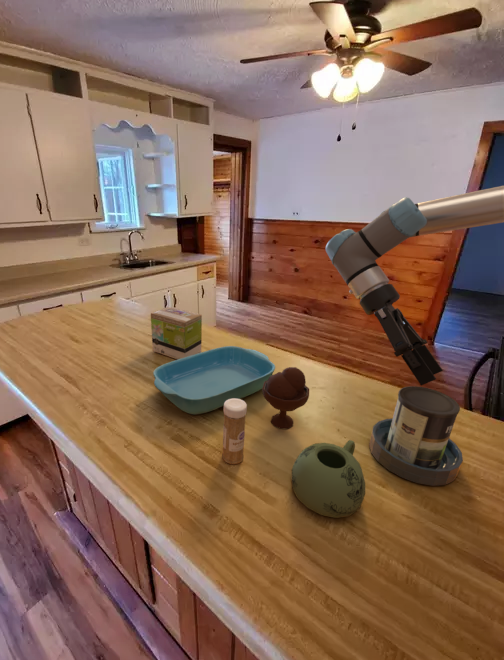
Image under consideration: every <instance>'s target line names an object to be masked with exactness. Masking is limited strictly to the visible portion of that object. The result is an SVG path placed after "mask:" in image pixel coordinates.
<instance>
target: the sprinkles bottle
mask: <svg viewBox="0 0 504 660" xmlns="http://www.w3.org/2000/svg"><path fill="white" fill-rule="evenodd" d="M247 408H248V404H247V402H246V401H245V400H243V399H242V398H241V399H236V398H233V399H228V400H227V401H225V403H224V406H223V427H222V428H223V429H222V430H223V431H222V449H223V450H222V456H221V457H222V460H223V461H224V462H225V463H227V464H230V465H238V464H240V463H241V462H243V460H244V447H245V433H246V432H245V431H246V430H245V429H246V416H247V412H248V409H247Z"/></svg>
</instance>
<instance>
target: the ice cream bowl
mask: <svg viewBox="0 0 504 660" xmlns="http://www.w3.org/2000/svg"><path fill="white" fill-rule="evenodd" d="M306 382H307V381H306V376H305V373H304V372H303V371H302V370H301V369H300V368H298V367H296V366H294V367H293V366H289V367H285V368H284V369H283V370H282V371H277V372H276V373H273V374H272V375H271V376H270V377H269V379H268V380H267V381H265V382H264V384H263V388H262V389H261V390H262V395H263V398H264V399H265V401H267V402H268V403H269V405H270V406H271V407H272V408H273V409H276V410H279V413H276V414H274V415H272V416H271V419H270V423H271V424H272V425H273V426H274V427H275V428H278V429H283V430H285V429H286V430H288V429H290V428H292V427H293V426H294V419H293V418H292V417H291V416H290V415H287V414H288V413H287V412H293V411H295V410H298V409H299V408H301V407H303V406H305V405H306V403H307V402H308V401H309V397H310V387H308V386H307V385H306Z"/></svg>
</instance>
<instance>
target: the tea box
mask: <svg viewBox="0 0 504 660" xmlns="http://www.w3.org/2000/svg"><path fill="white" fill-rule="evenodd" d="M202 317H203V315H202V314H201V313H197V312H193V311H189V310H185V309H180V308H177V307H173V306H167V307H164V308H161V309H159V310H157V311H153V312H151V313H150V326H151V327H150V328H151V345H152V351H153V353H157V354H161V355H163V356H166V357H169V358H172V359H175V360H178V359H181V358H185V357H188V356H191V355H195V354H198V353H201V352H202V342H203V341H202V335H203V334H202V333H203V332H202V330H203V329H202V328H203V327H202V325H203V323H202V322H203V321H202V320H203V318H202Z"/></svg>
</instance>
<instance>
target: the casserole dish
mask: <svg viewBox="0 0 504 660" xmlns="http://www.w3.org/2000/svg"><path fill="white" fill-rule="evenodd" d="M275 370H276V365H275V363H273V362H272V361H271V360H270V359H269V356H268V355H266V354H265V353H263V352H260V351H258V350H256V349H251V348H245V347H241V346H237V345H236V346H234V345H226V346H221V347H216V348H211V349H209V350H205V351H201V353H198V354H195V355H191V356H188V357H185V358H181V359H178V360H177V359H175V360H172V361H169V362H166V363H163V364H161V365H159V366H157V367H156V368H155V369H154V370H153V373H152V374H153V378H154V380H153V381H154V382H153V385H154V387H155V388H156V389H157V390H158V391H159V392H160V393H161V394H162V395H163V396H164V397H165V398H166V399H167V400H168V401H170V402H171V403H172V404H173V405H174V406H175V407H177V408H178V409H179V410H181V411H183V412H184V413H186V414H189V415H193V416H194V415H201V414H206V413H209V412H212V411H214V410H217V409H219V408H222V407H224V403H225V401H227V400H228V399H233V398H236V399H241V400H242V399H244V398H247V397H248V396H250V395H251V396H252V395H253V394H254V393H255V394H256V393H257V392H259V391H260V390H262V388H263V384H264V382H265V381H267V380H268V379H269V377H270V376H271V375H274V372H275Z"/></svg>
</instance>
